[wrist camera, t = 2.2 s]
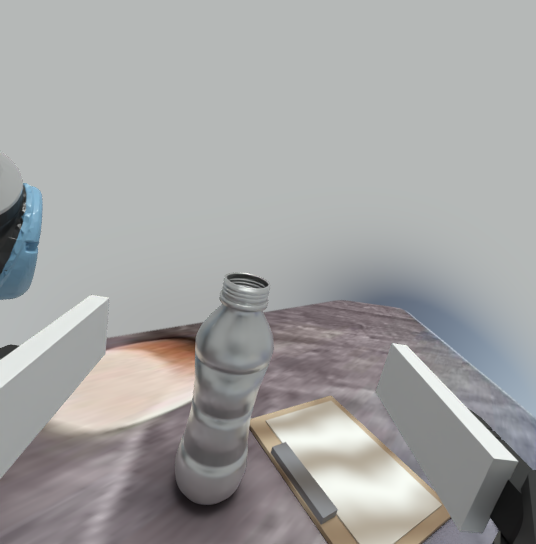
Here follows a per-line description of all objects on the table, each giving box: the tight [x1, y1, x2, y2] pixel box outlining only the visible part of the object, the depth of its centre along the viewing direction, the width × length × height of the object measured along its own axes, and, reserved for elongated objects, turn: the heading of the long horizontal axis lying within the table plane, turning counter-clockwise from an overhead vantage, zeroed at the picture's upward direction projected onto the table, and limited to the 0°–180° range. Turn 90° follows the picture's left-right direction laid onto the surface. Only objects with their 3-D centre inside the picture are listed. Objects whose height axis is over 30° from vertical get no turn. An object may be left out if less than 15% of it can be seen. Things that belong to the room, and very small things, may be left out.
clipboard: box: [249, 396, 451, 544], centre depth 34 cm, size 18×14×1 cm
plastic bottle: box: [175, 273, 274, 505], centre depth 27 cm, size 6×7×20 cm
